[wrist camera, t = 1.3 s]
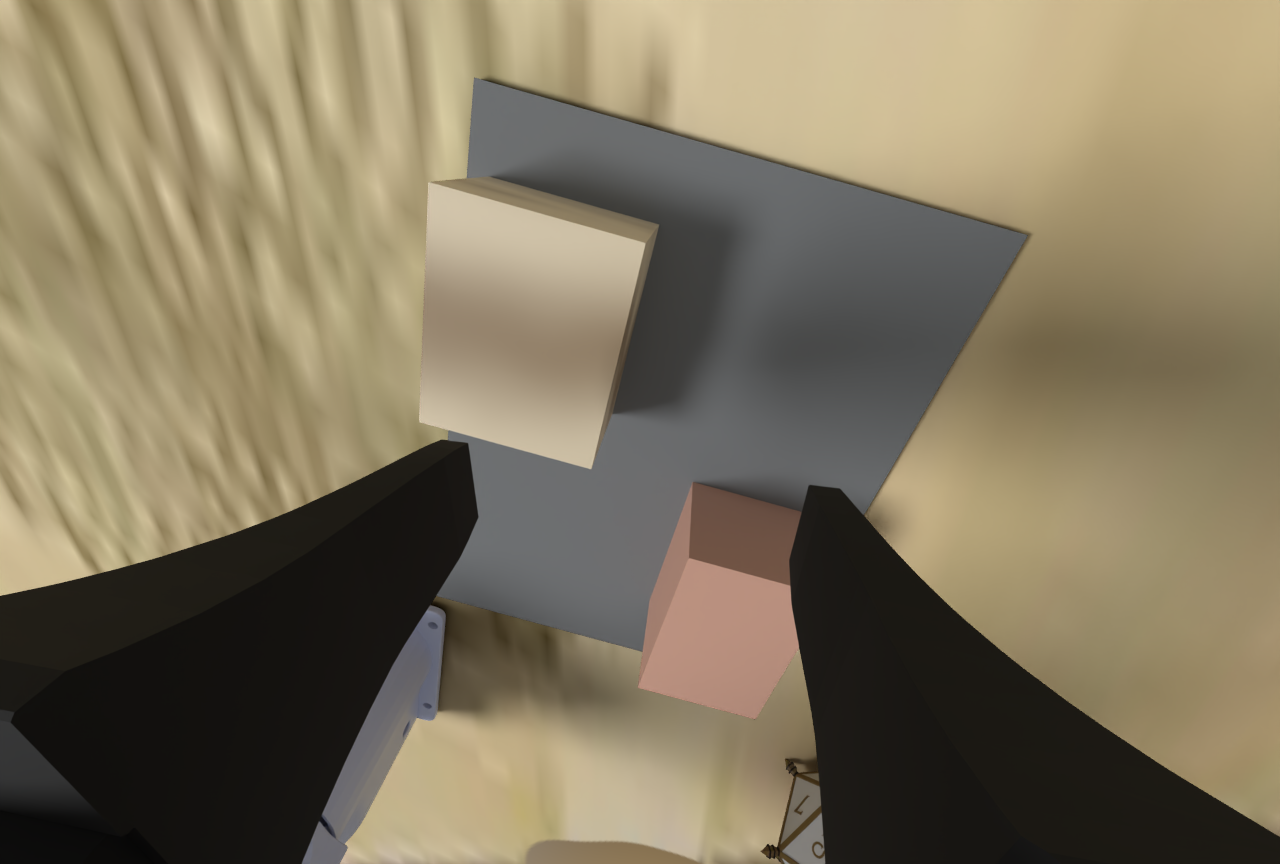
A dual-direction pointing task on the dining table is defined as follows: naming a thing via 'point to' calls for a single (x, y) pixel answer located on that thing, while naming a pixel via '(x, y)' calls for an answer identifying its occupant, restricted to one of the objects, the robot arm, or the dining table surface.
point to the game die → (801, 822)
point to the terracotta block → (723, 604)
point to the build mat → (715, 354)
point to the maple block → (527, 315)
